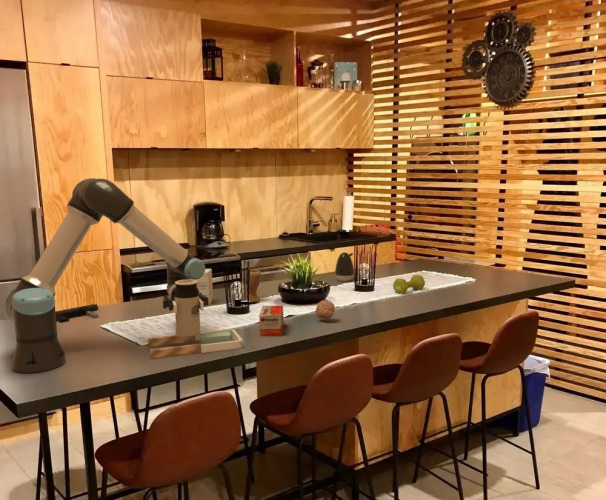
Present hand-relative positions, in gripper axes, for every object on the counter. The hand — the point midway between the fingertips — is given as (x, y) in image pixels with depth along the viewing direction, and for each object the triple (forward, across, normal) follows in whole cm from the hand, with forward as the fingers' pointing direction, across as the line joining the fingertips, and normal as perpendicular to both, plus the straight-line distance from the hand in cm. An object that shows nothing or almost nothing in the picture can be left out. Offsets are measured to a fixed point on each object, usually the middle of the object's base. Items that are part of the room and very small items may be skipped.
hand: (189, 307), depth 184 cm
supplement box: (-70, -14, -14) cm, 73 cm away
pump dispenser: (-90, -94, -13) cm, 131 cm away
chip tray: (-5, -10, -14) cm, 18 cm away
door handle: (-66, +37, -16) cm, 77 cm away
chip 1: (-3, -6, -15) cm, 16 cm away
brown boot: (-65, -34, -14) cm, 75 cm away
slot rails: (-5, +5, -15) cm, 16 cm away
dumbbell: (-52, -111, -13) cm, 123 cm away
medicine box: (-14, -32, -15) cm, 38 cm away
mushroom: (-17, -55, -14) cm, 59 cm away
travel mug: (-5, 0, -10) cm, 11 cm away
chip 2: (-3, -11, -15) cm, 19 cm away
